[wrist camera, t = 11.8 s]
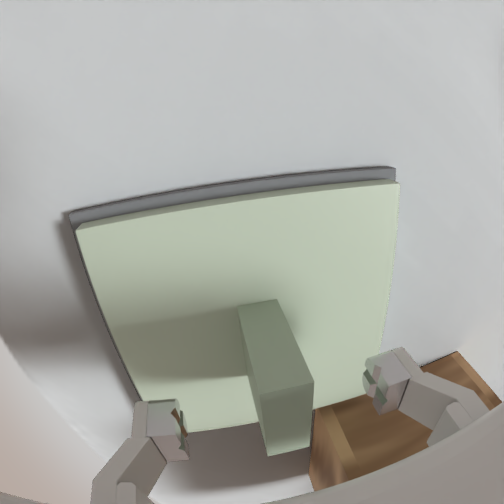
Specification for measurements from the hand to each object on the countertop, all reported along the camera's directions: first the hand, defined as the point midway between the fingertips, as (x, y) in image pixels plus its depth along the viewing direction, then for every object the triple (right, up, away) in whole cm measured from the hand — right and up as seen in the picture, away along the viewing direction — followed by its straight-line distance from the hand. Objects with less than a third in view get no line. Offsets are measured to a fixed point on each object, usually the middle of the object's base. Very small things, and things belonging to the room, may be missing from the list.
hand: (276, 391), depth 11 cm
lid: (-1, +2, +3) cm, 4 cm away
